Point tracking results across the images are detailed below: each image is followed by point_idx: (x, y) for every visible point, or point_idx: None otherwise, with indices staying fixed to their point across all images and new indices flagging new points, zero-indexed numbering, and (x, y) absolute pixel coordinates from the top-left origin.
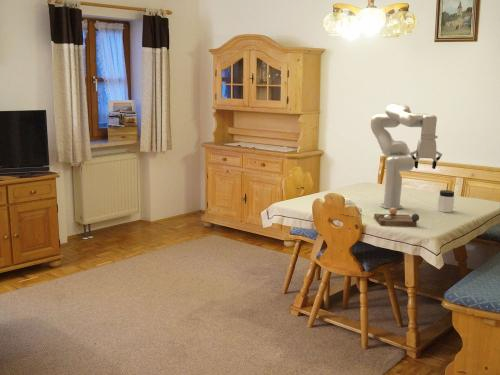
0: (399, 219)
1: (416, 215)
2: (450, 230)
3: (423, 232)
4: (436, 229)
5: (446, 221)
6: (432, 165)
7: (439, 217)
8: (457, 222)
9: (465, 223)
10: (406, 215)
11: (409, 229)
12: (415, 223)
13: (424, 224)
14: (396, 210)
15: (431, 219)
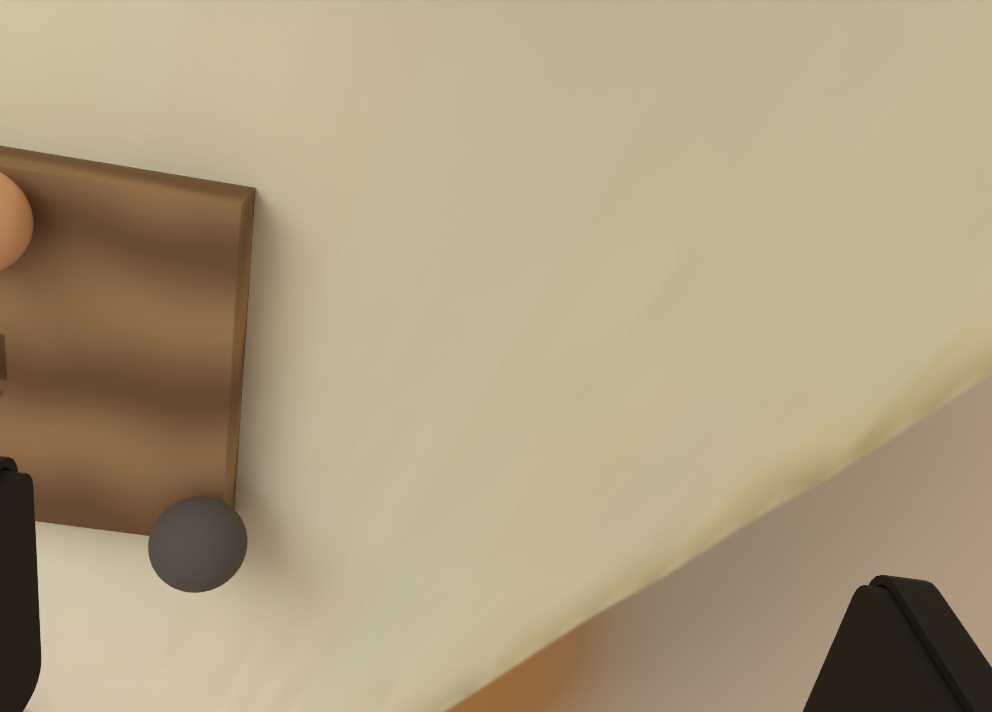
0: (32, 439)
1: (188, 591)
2: (542, 642)
3: (227, 689)
4: (412, 609)
5: (733, 317)
6: (912, 695)
7: (776, 105)
8: (843, 366)
9: (910, 410)
10: (196, 244)
11: (117, 601)
12: None
13: (370, 434)
14: (2, 264)
15: (589, 212)
